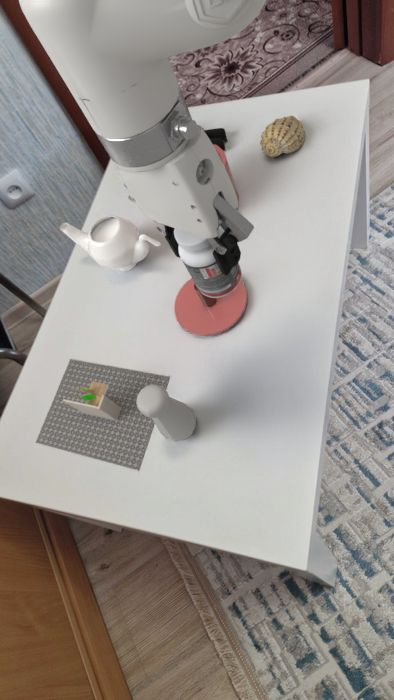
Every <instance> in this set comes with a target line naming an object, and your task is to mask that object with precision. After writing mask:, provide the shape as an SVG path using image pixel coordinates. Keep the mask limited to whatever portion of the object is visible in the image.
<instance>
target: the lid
mask: <svg viewBox="0 0 394 700" xmlns="http://www.w3.org/2000/svg"><path fill="white" fill-rule="evenodd" d="M247 304H248V292H247V289H246V285H245V284H244V282H243V281H242V279H241V280H240V283H239V285H238V286H237V288H236V289H235V290H234V291H233V292H231V293H230V294H228V295H226V296H224V297H220V298H211V297H208V296H205V295H204V294H202V293H201V292H200V291H199V289H198V288H197V286H196V284H195V282H194V281H193V279H192V277H191V278H189V279H188V280H187V281H186V282H185V283H184V284H183V285H182V287H181V288H180V289H179V291H178V293H177V295H176V298H175V301H174V307H173V308H174V315H175V318H176V320H177V322H178V323H179V325H180V326H181V328H182V329H184V330H185V331H186V332H188V333H190V334H192V335H195V336H200V337H201V336H202V337H208V336H215V335H218V334H221V333H223V332H225V331H227V330H229V329H230V328H233V326H234V325H236V323H238V321H240V319H241V317H242V316H243V314H244V312H245V311H246V308H247Z"/></svg>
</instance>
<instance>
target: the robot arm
mask: <svg viewBox="0 0 394 700" xmlns="http://www.w3.org/2000/svg"><path fill="white" fill-rule="evenodd" d="M266 1H267V0H18V3H19V6H20V9H21V11H22V13H23V15H24V17H25V19H26V20H27V23H28V24H29V26H30V28H31V29H32V31H33V33H34V34H35V36H36V37H37V39H38V41H39V42H40V44H41V45H42V46H41V47H43V49H44V51H45V52H46V54H47V55H48V57H49V58H50V61H51V62H52V64H53V65H54V67H55V69H56V70H57V72H58V73H59V75H60V77H61V79H62V80H63V82H64V83H65V85H66V87H67V88H68V90H69V92H70V93H71V95H72V97H73V98H74V100H75V102H76V103H77V105H78V107H79V108H80V110H81V112H82V113H83V115H84V117H85V118H86V120H87V122H88V123H89V125H90V126H91V128H92V130H93V131H94V133H95V136H97V138H98V139H99V141H100V144H101V145H102V146H103V147H104V150H105V151H106V153H107V154H108V157H109V158H110V160H111V162H112V165H113V167H114V169H115V171H116V173H117V175H118V177H119V179H120V180H121V183H122V185H123V187H124V189H125V190H126V193H127V194H128V196H127V197H128V200H129V201H130V202H132V203H133V204H134V205H135V206H136V208H137V209H138V211H139V212H140V213H141V215H142V216H144V217H145V218H147V219H148V220H151V221H153V222H154V224H155V229H156V230H157V231H158V232H159V233H161V234H162V235H163V236H164V238H165V240H166V242H167V243H168V245H169V247H170V249H171V250H172V252H173V254H174V255H175V257H176V258H179V259H181V257H180V255H179V251H178V246H179V244H178V243H177V241H176V239H175V236H174V228H175V229H178V230H181V231H184V232H187V233H190V234H193V235H196V236H199V237H203V238H206V239H207V241H208V242H209V243H210V244H211V246H212V247H213V248H214V251H213V256H214V258H215V260H216V262H217V264H218V267H219V269H220V271H221V272H222V274H224V275H228V274H229V273H230V271H231V270H232V268H233V267H235V266H236V265H237V263H239V262H240V260H241V255H242V252H241V249H240V246H239V244H238V243H241V242H243V241H245V240H247V239H249V237H250V235H251V234H252V232H253V231H254V229H255V226H254V224H253V223H252V222H251V221H249V220H248V219H247V218H246V217H245V216H243V215H242V214H241V213H240V211H238V210H237V209H238V207H239V205H240V204H239V201H238V199H237V196H236V193H235V190H234V188H233V185H232V183H231V180H230V178H229V176H228V173H227V171H226V169H225V167H224V165H223V163H222V161H221V159H220V157H219V155H218V153H217V151H216V149H215V147H214V146H213V144H212V142H211V141H210V139H209V138H208V136H207V135H206V133H205V132H204V130H205V129H204V128H203V127H202V126H201V125H199V124H198V123H197V122H196V120H194V119H193V117H192V115H191V113H190V110H189V107H188V105H187V102H186V99H185V97H184V94H183V91H182V88H181V86H180V83H179V82H178V79H177V76H176V74H175V71H174V68H173V66H172V63H171V60H170V58H171V57H175V56H178V55H183V54H186V53H190V52H194V51H198V50H202V49H205V48H209V47H212V46H215V45H218V44H220V43H223V42H225V41H228V40H230V39H231V38H233V37H234V36H236V35H239V34H240V33H241V32H242V31H244V30H245V29H247V28H248V26H250V25H251V23H253V21H254V20H256V18H257V17H258V15H259V14H260V13H261V11H262V9H263V7H264V6H265V4H266ZM202 128H203V129H202ZM219 226H220V227H222V228H223V230H224V231H225V232H223V234H222V235H221V237H220V238H218V237H217V236H218V231H217V229H218V228H219Z"/></svg>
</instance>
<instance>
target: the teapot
mask: <svg viewBox="0 0 394 700" xmlns="http://www.w3.org/2000/svg"><path fill="white" fill-rule="evenodd" d="M59 229H60V231H61V232H62V233H63V234H65V236H67V237H68V238H69V239H71V241H73V242H74V243H75V244H76V245H78V246H79V247H81V248H82V249H83V250H85V251H86V252H87V253H88V254H89V255H90V257H91V258H92V260H94V261H95V262H96V263H97V264H98V265H99V266H102V267H105V268H108V269H113V270H114V269H115V270H118V271H120V272H128V271H130V270H133V269H134V268H135V267H136V266H137V264H138V263H139V262H141V261H143V260H144V259H146V257H147V256H148V254H149V253H150V244H151V245H153V246H154V247H160V246H161V245H162V244H161V242H160V241H158V240H156V239H154V238H152V237H150V236H149V235H148V234H145V233H142V234H140V233H139V230H138V228H137V227H136V225H135V224H134V222H132V221H131V220H130V219H128V218H125V217H122V216H118V215H107V216H103V217H101V218H99V219H98V220H96V222H94V223H93V225H92V226H91V227H90V229H89V232H85V231H83V230H81V229H79V228H77V227H75V226H74V225H72V224H70V223H68V222H62V223H61V224H60V226H59ZM149 243H150V244H149Z"/></svg>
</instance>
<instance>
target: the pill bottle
mask: <svg viewBox="0 0 394 700" xmlns="http://www.w3.org/2000/svg"><path fill="white" fill-rule="evenodd" d="M217 231H218V236H217V237H218V238H220V237H221V235H222V234H223V232H225V231H224V230H223V228H222V227H221V226H219V228H218V229H217ZM174 236H175V239H176V241H177V243H178V244H179V246H178V251H179V255H180V257H181V258H180V259H181V261H182V263H183V265H184V266H185V268H186V270H187V272H188V273H189V275H190V277H191V278H192V279H193V281H194V282H195V284H196V286H197V288H198V289H199V291H200V292H201V293H202V294H204V295H205V296H208V297H211V298H220V297H224V296H226V295H228V294H230V293H231V292H233V291H234V290H235V289H236V288H237V286H238V285H239V283H240V280H241V281H242V269H241V265H240V263H239V262H238V263H237V265H236V266H235V267H233V268H232V270H231V271H230V273H229V274H228V275H224V274H222V272H221V271H220V269H219V267H218V264H217V262H216V260H215V258H214V256H213V251H214V248H213V247H212V246H211V244H210V243H209V242H208V241H207V239H206V238H203V237H199V236H196V235H193V234H190V233H187V232H184V231H181V230H178V229H175V228H174Z"/></svg>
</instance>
